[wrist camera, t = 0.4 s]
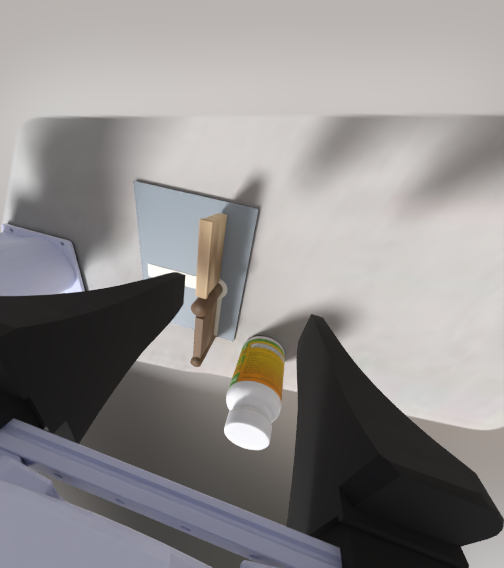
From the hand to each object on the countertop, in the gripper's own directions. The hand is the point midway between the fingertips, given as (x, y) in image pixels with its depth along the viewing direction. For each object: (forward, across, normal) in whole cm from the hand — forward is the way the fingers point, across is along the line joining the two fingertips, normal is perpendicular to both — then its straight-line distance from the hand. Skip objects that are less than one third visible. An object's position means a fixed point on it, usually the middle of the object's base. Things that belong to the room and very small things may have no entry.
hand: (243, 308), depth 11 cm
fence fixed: (+9, +4, +9) cm, 14 cm away
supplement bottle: (+10, -3, +12) cm, 16 cm away
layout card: (+9, +7, +4) cm, 13 cm away
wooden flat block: (+9, +5, +1) cm, 10 cm away
